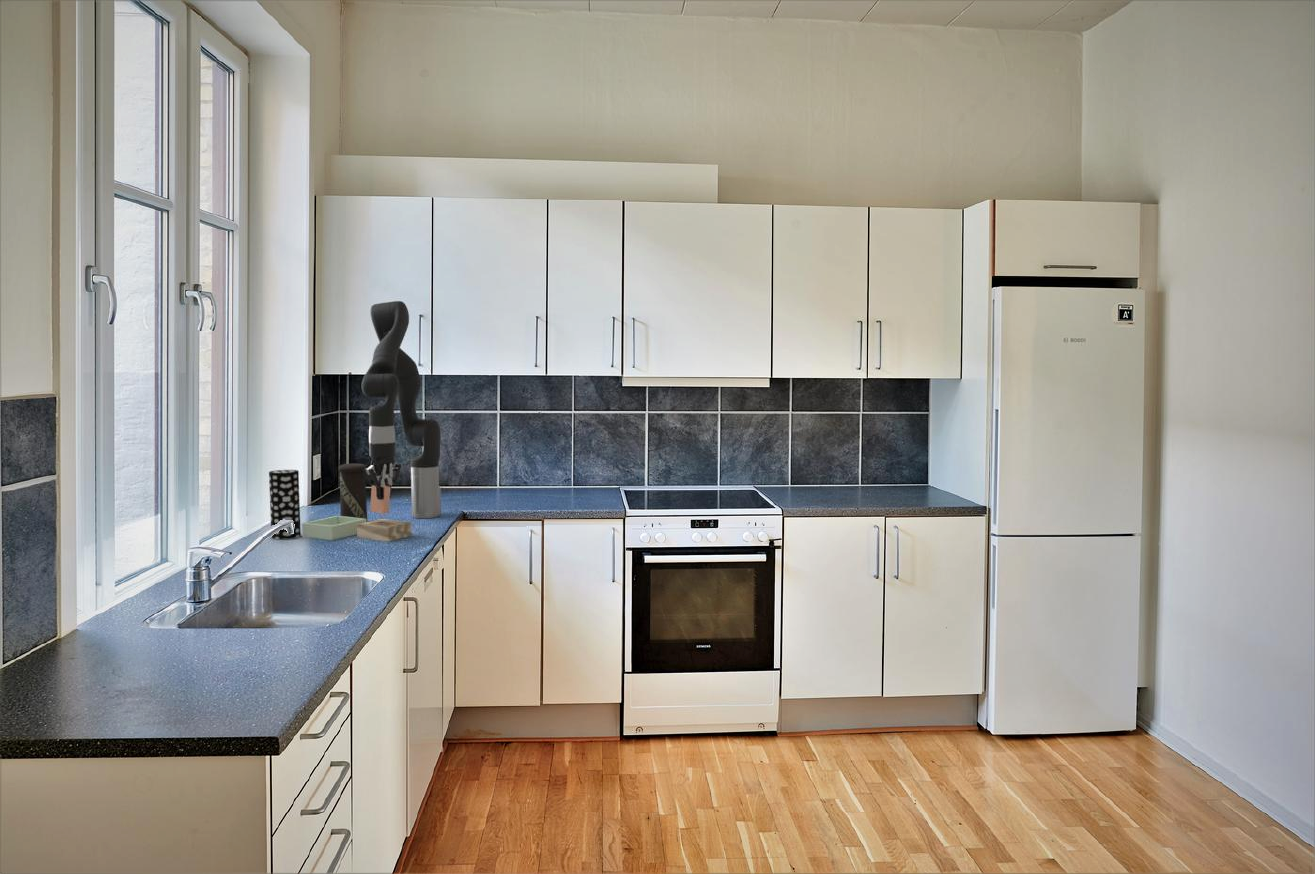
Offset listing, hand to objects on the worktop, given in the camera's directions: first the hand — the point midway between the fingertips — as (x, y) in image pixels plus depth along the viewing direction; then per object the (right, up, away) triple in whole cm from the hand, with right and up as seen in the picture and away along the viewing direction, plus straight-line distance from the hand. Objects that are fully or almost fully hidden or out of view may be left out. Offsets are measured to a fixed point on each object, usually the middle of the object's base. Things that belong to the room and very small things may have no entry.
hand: (384, 498), depth 274 cm
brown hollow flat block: (0, -12, +1) cm, 12 cm away
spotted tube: (-31, -12, +6) cm, 34 cm away
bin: (-16, -12, +5) cm, 21 cm away
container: (-17, -10, +25) cm, 32 cm away
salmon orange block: (-2, -4, +1) cm, 5 cm away
